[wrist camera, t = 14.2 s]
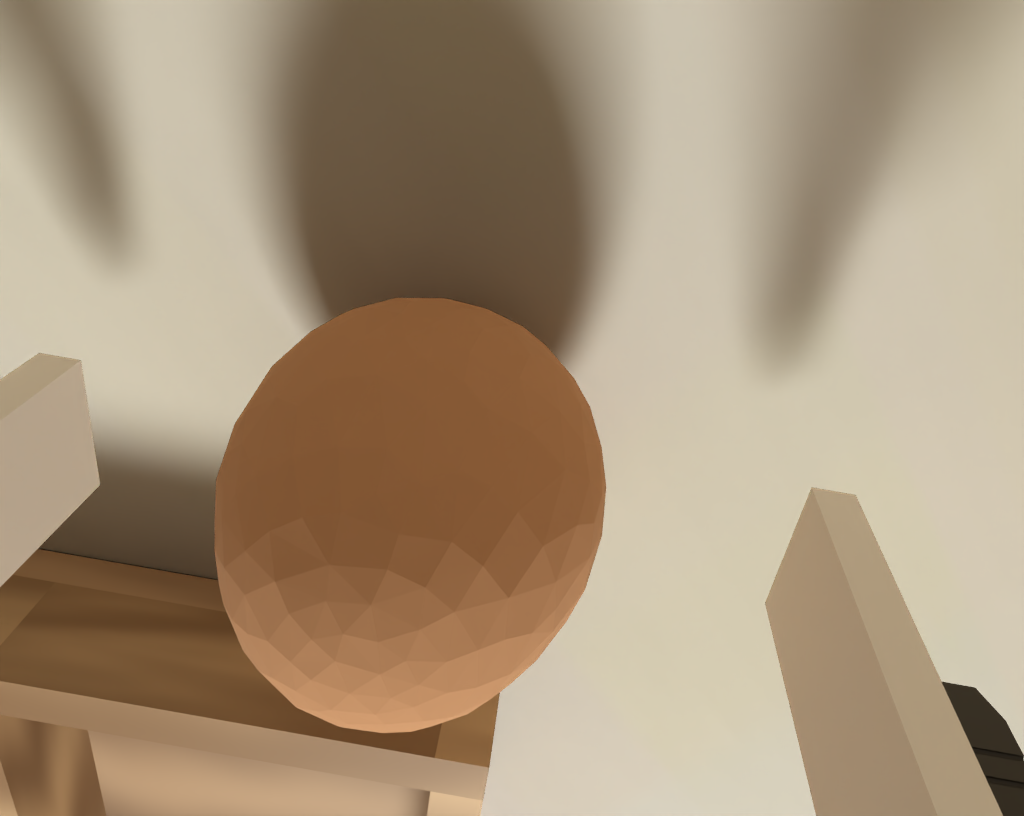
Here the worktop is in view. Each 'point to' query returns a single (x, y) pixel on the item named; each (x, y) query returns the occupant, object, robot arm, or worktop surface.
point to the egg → (407, 513)
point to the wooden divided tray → (189, 713)
